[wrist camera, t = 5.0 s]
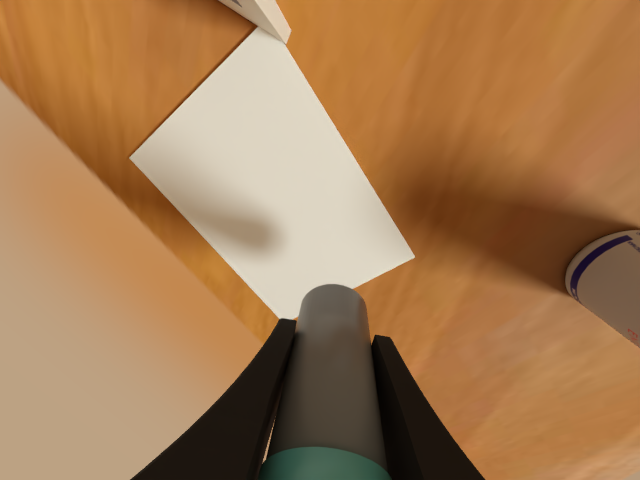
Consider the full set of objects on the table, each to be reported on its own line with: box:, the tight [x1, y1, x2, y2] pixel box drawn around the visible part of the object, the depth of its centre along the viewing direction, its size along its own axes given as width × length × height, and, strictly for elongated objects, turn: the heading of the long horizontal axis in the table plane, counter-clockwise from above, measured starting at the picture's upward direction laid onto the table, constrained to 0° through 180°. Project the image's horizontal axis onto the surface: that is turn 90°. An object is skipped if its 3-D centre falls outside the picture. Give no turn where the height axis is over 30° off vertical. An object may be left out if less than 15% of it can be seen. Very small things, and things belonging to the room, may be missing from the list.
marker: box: [257, 284, 392, 480], centre depth 8 cm, size 3×3×8 cm
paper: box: [129, 26, 415, 320], centre depth 16 cm, size 15×11×1 cm
